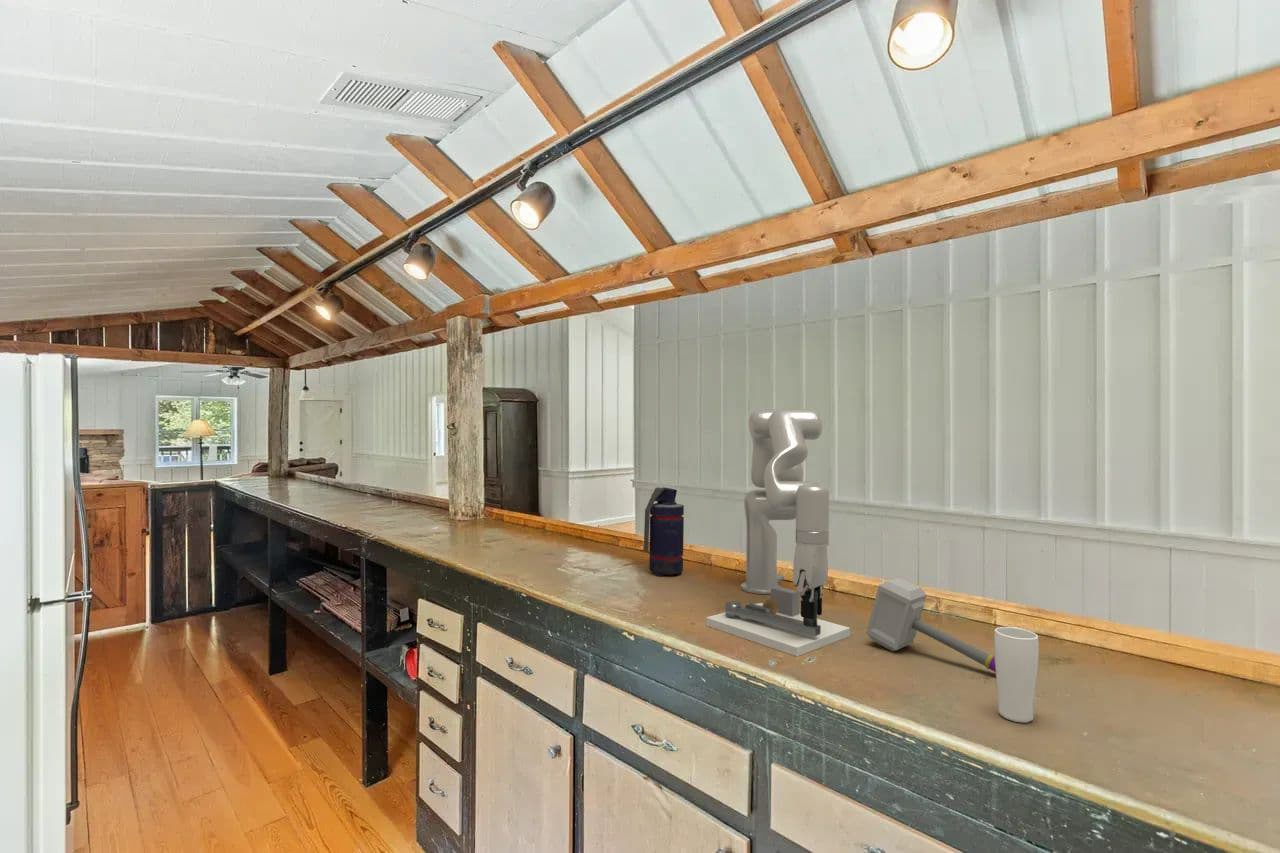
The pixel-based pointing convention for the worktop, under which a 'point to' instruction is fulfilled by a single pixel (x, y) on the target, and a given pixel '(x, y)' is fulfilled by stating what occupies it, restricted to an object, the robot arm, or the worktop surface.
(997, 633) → the drinking glass
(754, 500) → the robot arm
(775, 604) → the walnut
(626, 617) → the worktop surface
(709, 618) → the base
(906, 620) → the hammer
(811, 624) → the lever
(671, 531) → the grenade
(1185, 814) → the worktop surface
